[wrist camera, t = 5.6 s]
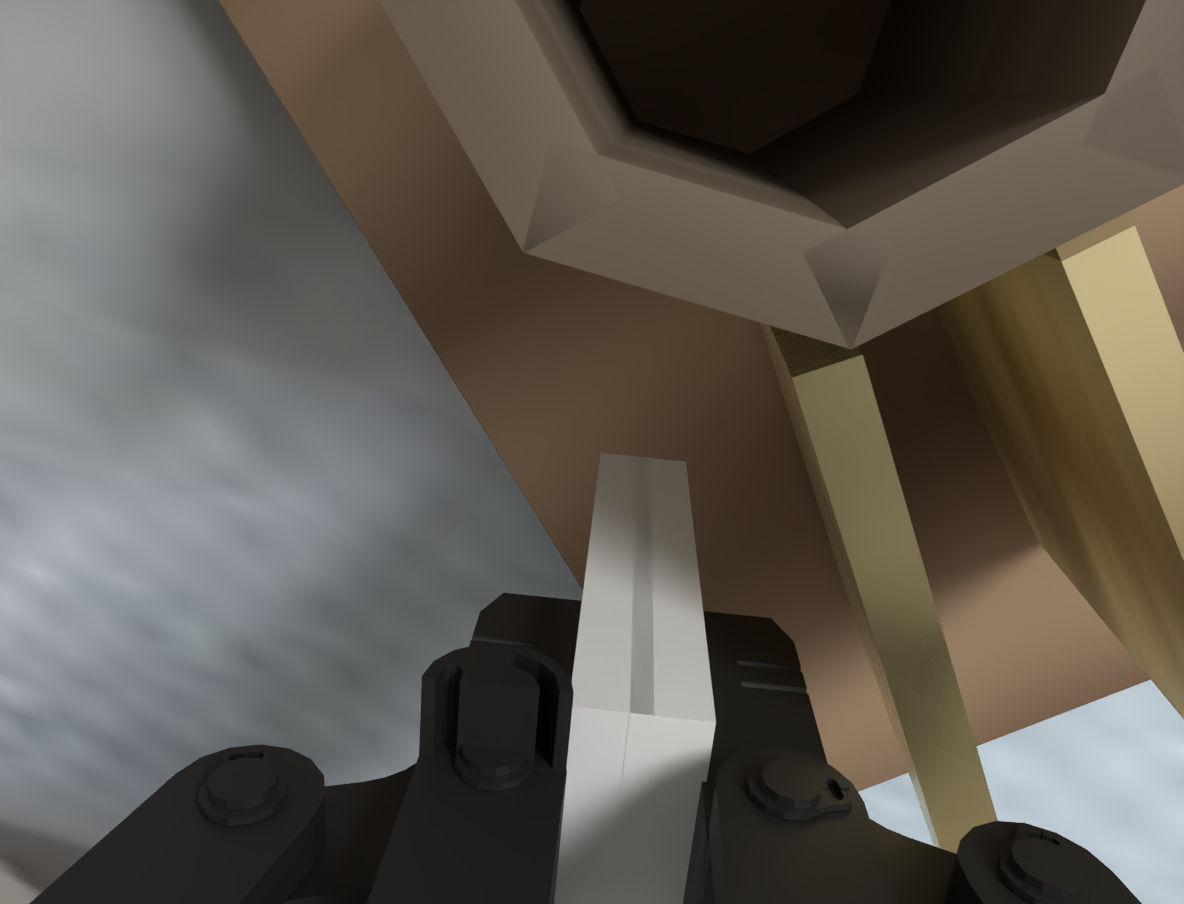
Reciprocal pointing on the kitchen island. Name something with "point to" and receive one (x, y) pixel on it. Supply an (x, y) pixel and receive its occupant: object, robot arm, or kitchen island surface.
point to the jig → (804, 292)
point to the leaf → (883, 575)
